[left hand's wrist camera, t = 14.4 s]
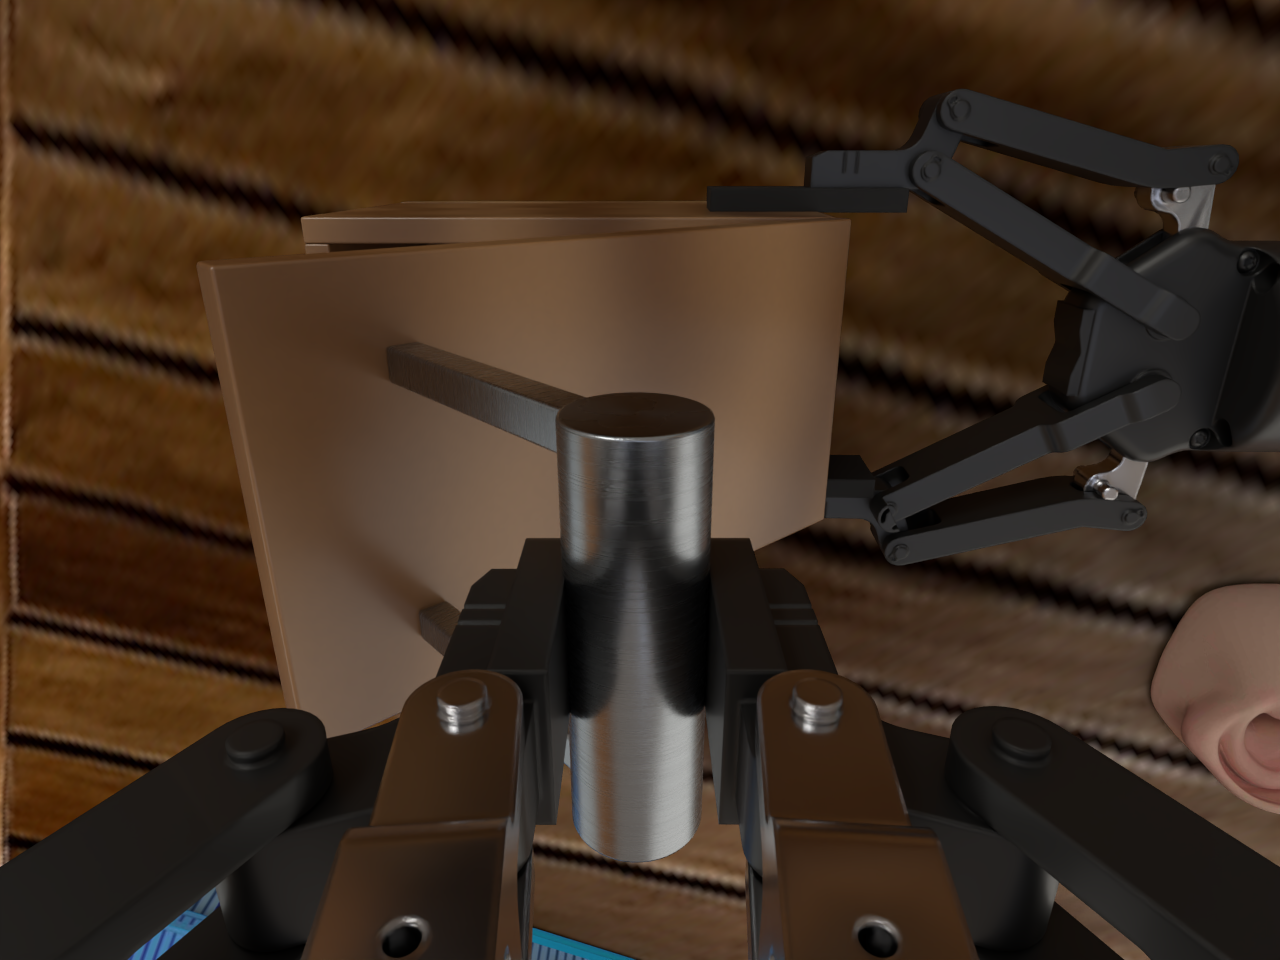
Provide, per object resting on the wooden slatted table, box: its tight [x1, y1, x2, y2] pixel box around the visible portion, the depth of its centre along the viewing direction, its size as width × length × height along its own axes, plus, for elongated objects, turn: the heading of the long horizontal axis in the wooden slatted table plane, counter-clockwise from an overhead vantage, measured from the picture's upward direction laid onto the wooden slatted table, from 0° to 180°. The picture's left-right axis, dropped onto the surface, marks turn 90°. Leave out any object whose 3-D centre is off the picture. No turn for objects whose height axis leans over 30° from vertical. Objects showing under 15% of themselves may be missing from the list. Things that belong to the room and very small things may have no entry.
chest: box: [301, 201, 835, 254], centre depth 31 cm, size 16×10×11 cm, turn 90°
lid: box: [197, 217, 851, 862], centre depth 17 cm, size 17×10×8 cm
